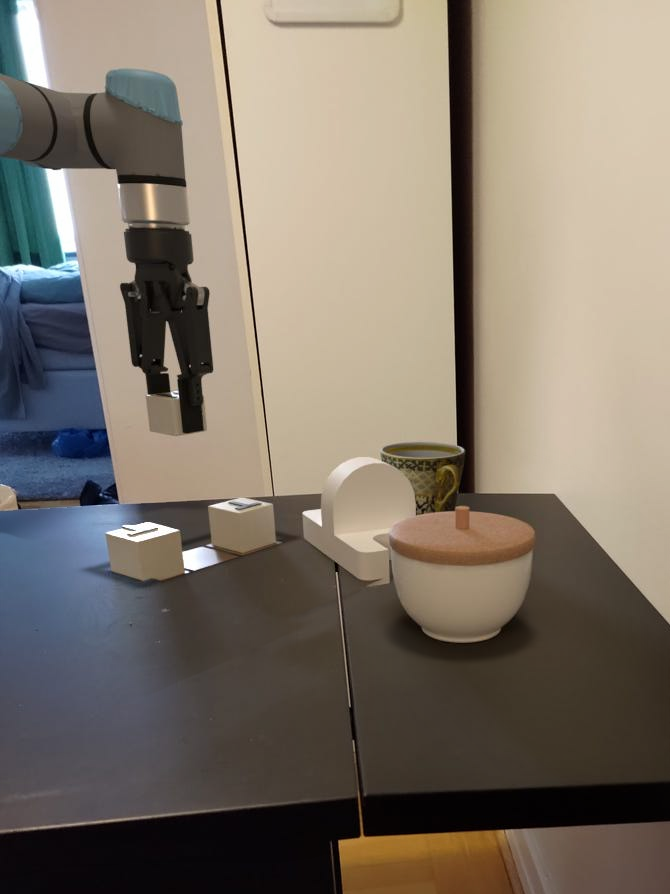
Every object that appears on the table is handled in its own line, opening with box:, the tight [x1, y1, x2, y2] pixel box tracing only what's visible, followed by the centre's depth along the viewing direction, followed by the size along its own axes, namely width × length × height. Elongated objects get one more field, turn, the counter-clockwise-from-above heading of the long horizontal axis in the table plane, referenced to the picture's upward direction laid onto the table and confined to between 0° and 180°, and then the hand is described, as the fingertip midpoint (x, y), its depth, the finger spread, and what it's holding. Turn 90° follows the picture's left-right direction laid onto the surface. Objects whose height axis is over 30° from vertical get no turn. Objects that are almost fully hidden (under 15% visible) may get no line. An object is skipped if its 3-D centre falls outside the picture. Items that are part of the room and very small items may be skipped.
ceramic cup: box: [379, 441, 466, 516], centre depth 104 cm, size 13×10×10 cm
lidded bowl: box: [389, 505, 536, 644], centre depth 77 cm, size 13×13×11 cm
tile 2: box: [207, 497, 277, 553], centre depth 98 cm, size 5×5×5 cm
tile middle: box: [145, 390, 208, 437], centre depth 111 cm, size 5×5×5 cm
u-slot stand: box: [301, 456, 416, 587], centre depth 96 cm, size 10×18×11 cm, turn 30°
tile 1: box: [105, 521, 186, 582], centre depth 88 cm, size 5×5×5 cm
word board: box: [161, 540, 283, 582], centre depth 94 cm, size 8×20×1 cm, turn 146°
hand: (178, 428), depth 112 cm, fingers closed on tile middle, 5 cm apart
